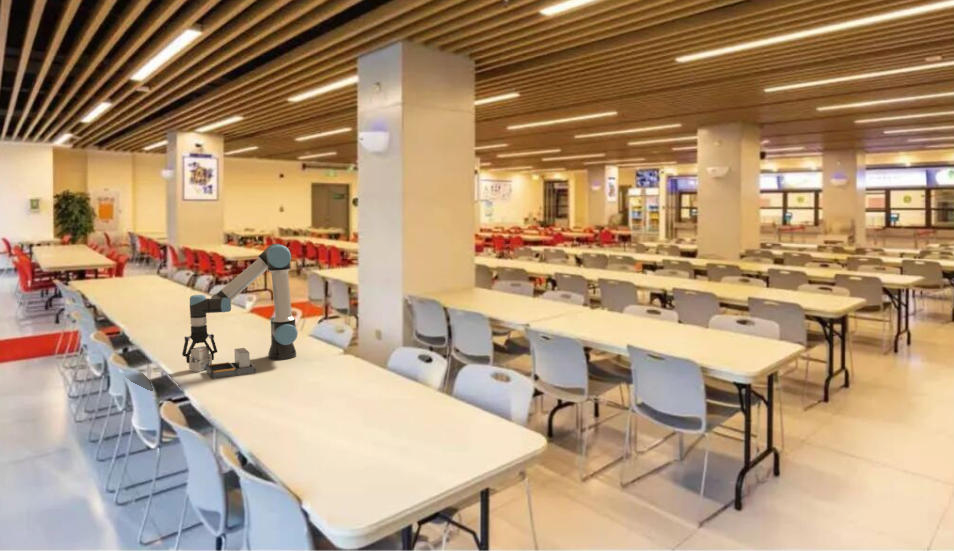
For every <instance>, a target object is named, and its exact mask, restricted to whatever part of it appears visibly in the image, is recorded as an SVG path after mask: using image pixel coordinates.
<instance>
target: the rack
mask: <svg viewBox="0 0 954 551" xmlns="http://www.w3.org/2000/svg"><path fill="white" fill-rule="evenodd" d="M233 352H234V361H233V362H229V361H228V362H218V363H212V364H209V365H208V366H206V369H205V370H206V373H207V375H208V376H209V378H210V380H214V379H221V378H223V379H224V378H228V377H230V378H231V377H236V376H244V375H252V374H256V373H257V371H256V370H257V368H256V365H254V364H253V363H252V362H251V361H250V351H249V350H247V349H246V348H245V347H241V348H234V351H233Z"/></svg>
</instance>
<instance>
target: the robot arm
mask: <svg viewBox="0 0 954 551" xmlns="http://www.w3.org/2000/svg"><path fill="white" fill-rule="evenodd" d="M291 259H292V254H291V252H290V249H289V248H288V247H287V246H285V245H283V244H281V243H272V244H270V245H268V246H267V247H266V248H265V249H264V250H263V251H262V252H261V253H260V254H259V255H258V256H257V259H256V260H255V261H254V262H253V263H252V264H250V265H249V266H248V267H247V268H246V269H244V270H243V271H242V272H241V273H239V274H238V275H237V276H236V277H234V278H233V279H232V280H231V281H230V282H229V283H227V285H225V286H224V287H223V288H222V289H220V290H219V291H218V292H216V293H215V294H213V295H212V296H211V297H210V298H207V297H206V295H205V294H194V295H191V296H190V297H189V315H190V316H189V317H190V325H191V326H190V335H189V336H184V344H183V349H182V353H181V354H182V357H185V358H186V364H188V368H189V370H192V368H191V349H193V348H195V346H196V344H202V343H204V346H207V348H208V349H209V365H210V364H213V361H214V360H215V354H216V353H218V349H217V345H216V342H215V339H214V338H215V335H214V333H210V334H209V333H208V325H207V323H208V321H207V320H208V319H207V314H212V313H213V314H214V313H218V314H219V313H229V312H231V310H232V300H233V299H234V298H236V296H237V295H239V294H240V293H241V292H242V291H243V290H245V289H246V288H247V287H249V285H251V284H252V283H253V282H254V281H255V280H256V279H258V278H259V277H260V276H262V275H263V274H265V272H266V271H268V272H269V273H270V274H271V283H272V285H271V286H272V294H273V296H272V297H273V305H274V306H273V307H274V316H273V317H271V319H270V334H271V335H270V339H271V340H270V342H271V343H270V348H269V350H268V359H270V360H280V361H281V360H290V359H293V358H296V357H297V351H296V348H295V344H294V342H295V341H296V340H297V337H298V330H297V325H296V318H295V317H294V316H293V314H292V303H291V302H292V301H291V292H290V278H289V272H290V270H291V267H292V266H291ZM208 338H209V339H210V342H211V346H212V348H213V349H212V348H211V346H210V344H209V343H208V341H207V339H208ZM190 339H191V340H192V342H191V344H190V346H189V349H188V344H189V341H190ZM187 350H188V351H187Z"/></svg>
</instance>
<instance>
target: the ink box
mask: <svg viewBox="0 0 954 551" xmlns="http://www.w3.org/2000/svg"><path fill="white" fill-rule="evenodd" d="M209 354H210V351H209V349H208V348H207V346H206V345H199V346H196V347H194V348H193V349H191V354H190V356H191V368H192V370H191V372H194V373H200V372H202V371H205V370H206V366H208V365H210V364H209Z"/></svg>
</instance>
